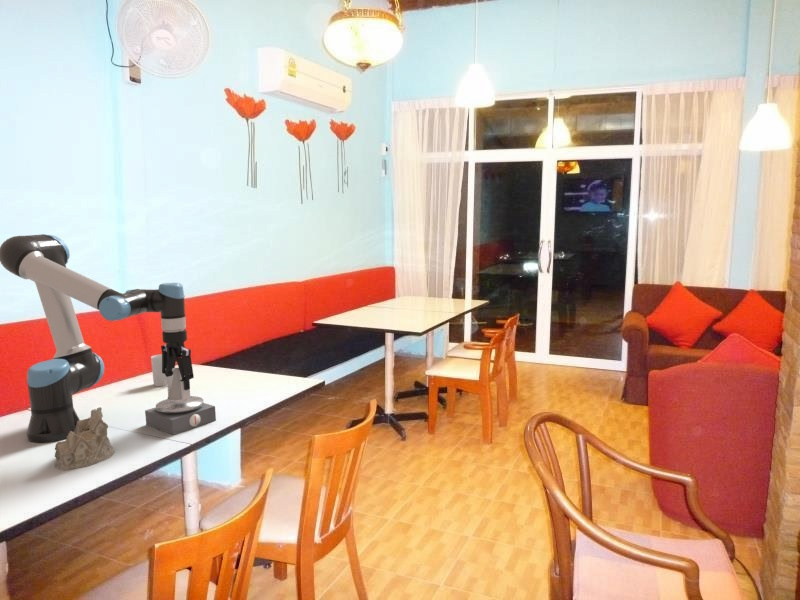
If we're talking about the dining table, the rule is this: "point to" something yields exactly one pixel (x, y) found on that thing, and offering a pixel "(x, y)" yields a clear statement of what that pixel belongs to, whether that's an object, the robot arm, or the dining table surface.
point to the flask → (175, 386)
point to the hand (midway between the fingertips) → (179, 396)
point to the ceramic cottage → (85, 444)
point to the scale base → (180, 419)
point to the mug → (158, 371)
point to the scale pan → (179, 405)
